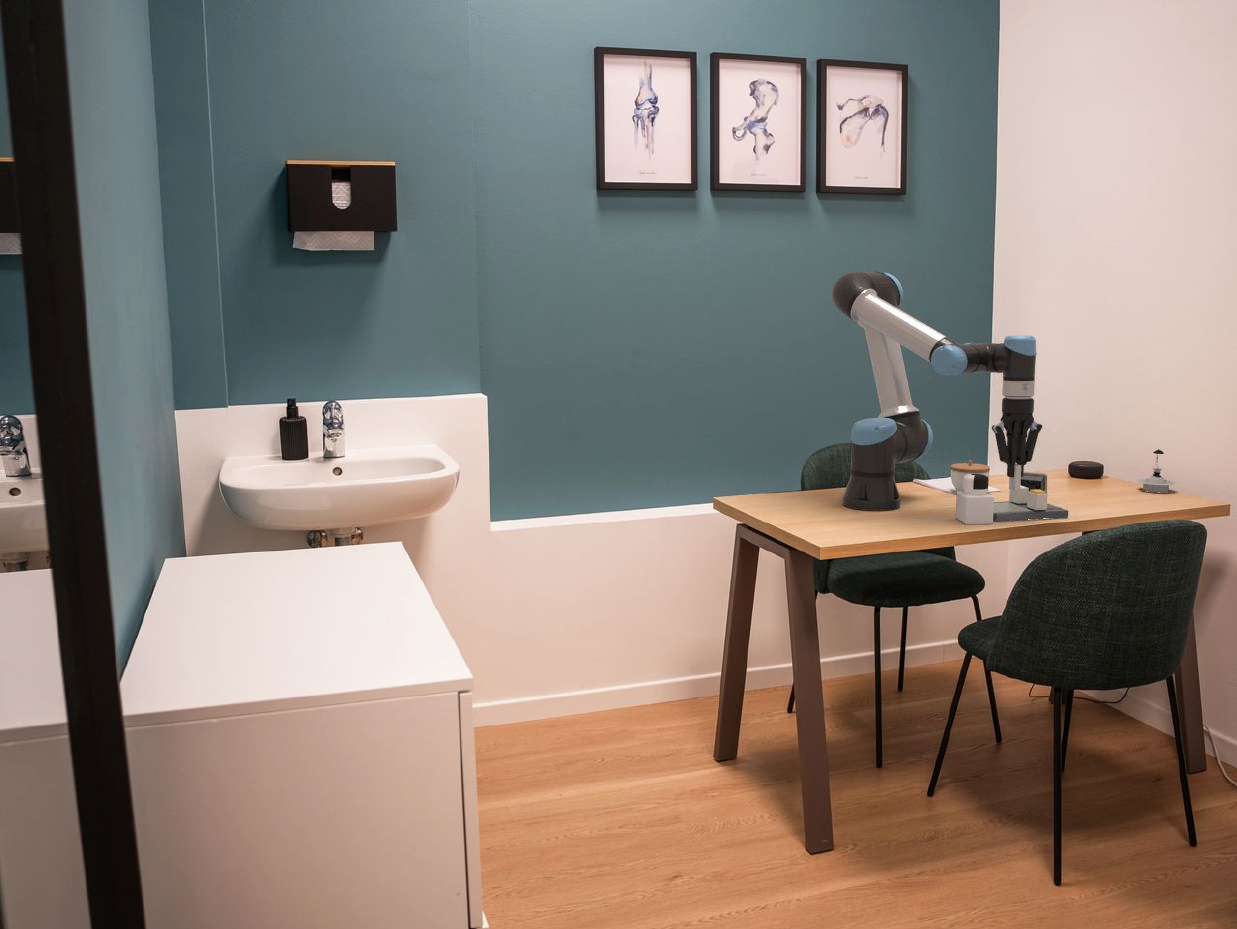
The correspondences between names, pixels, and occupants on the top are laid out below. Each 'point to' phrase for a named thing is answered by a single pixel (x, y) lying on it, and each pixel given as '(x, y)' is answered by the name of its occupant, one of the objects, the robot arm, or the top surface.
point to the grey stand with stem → (1156, 480)
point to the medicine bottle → (975, 501)
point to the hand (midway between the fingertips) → (1014, 489)
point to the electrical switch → (1034, 481)
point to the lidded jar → (966, 472)
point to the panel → (1024, 512)
